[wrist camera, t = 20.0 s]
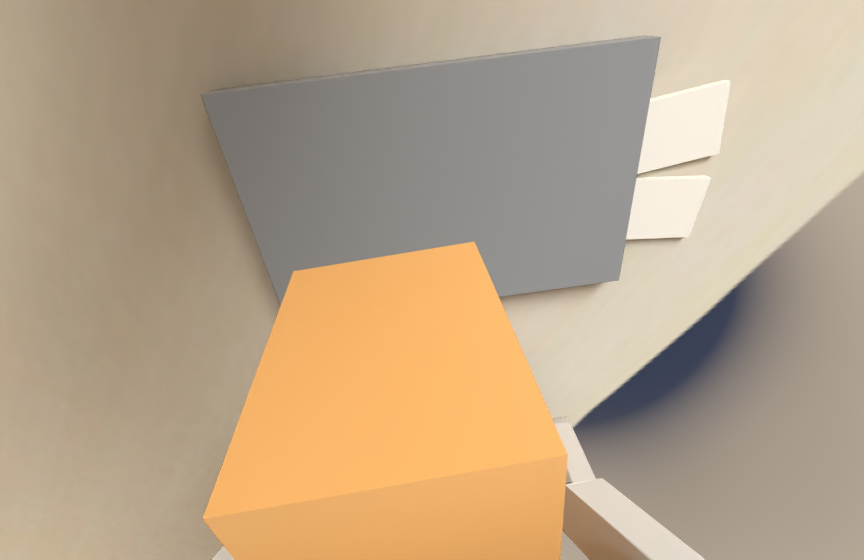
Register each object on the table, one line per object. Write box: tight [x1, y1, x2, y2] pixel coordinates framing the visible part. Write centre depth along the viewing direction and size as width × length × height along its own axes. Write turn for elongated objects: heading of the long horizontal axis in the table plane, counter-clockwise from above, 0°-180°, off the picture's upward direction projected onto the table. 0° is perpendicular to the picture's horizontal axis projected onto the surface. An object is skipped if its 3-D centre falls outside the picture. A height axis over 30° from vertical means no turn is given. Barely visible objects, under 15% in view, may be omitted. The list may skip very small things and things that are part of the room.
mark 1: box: [637, 80, 731, 174], centre depth 24 cm, size 5×4×1 cm
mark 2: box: [626, 176, 711, 240], centre depth 26 cm, size 5×4×1 cm
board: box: [201, 36, 661, 306], centre depth 24 cm, size 22×14×2 cm, turn 96°
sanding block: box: [203, 242, 568, 560], centre depth 10 cm, size 9×4×6 cm, turn 8°
